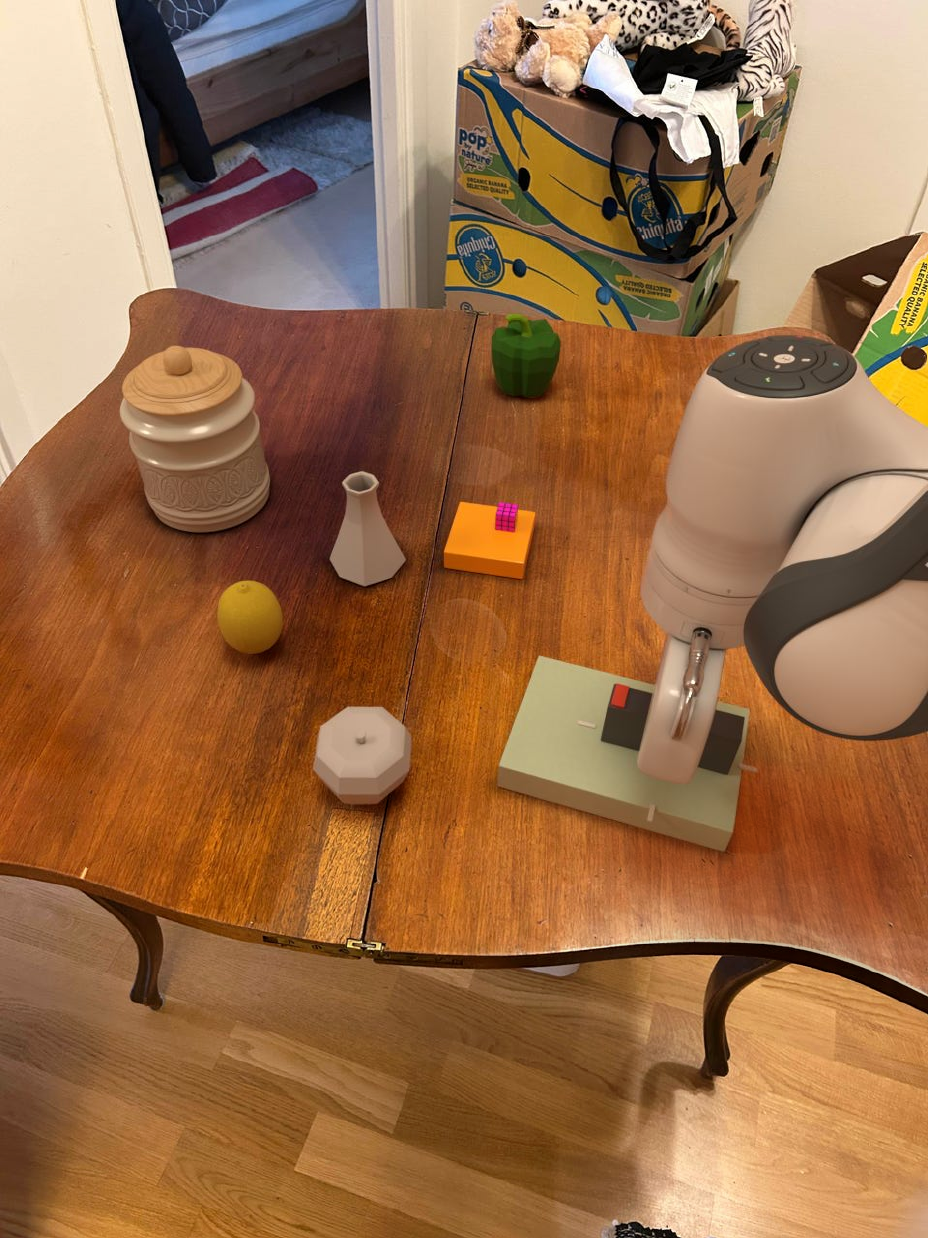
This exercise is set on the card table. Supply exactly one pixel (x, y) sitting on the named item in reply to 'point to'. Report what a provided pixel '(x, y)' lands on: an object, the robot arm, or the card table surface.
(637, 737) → the bar
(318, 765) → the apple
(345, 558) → the flask
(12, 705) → the card table surface
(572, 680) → the green slab
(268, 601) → the lemon
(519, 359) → the bell pepper
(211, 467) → the jar
